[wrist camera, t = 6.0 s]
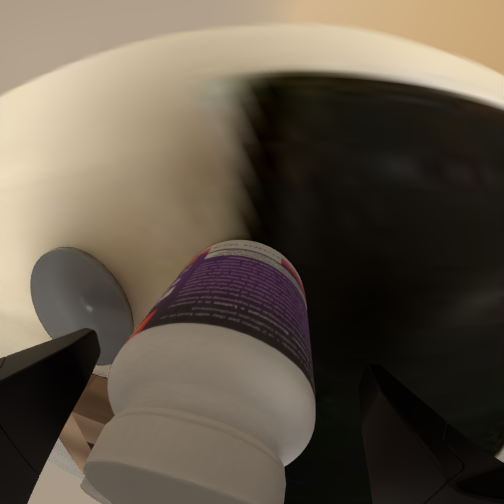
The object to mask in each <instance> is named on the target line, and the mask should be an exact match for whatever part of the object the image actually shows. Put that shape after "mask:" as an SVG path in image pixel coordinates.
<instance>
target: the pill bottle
mask: <svg viewBox="0 0 504 504" xmlns="http://www.w3.org/2000/svg"><path fill="white" fill-rule="evenodd" d="M107 389H108V397H109V401H110V405H111V408H112V410H113V413H114V415H115V416H114V417H113V418H112V419H111V421H109V422H108V423H107V424H106V425H105V426H104V428H103V430H102V431H101V433H100V435H99V437H98V439H97V441H96V443H95V445H94V447H93V449H92V450H91V452H90V454H89V456H88V458H87V459H86V461H85V463H84V473H85V476H86V478H87V480H88V481H89V482H90V484H91V485H92V486H93V487H94V488H95V489H96V490H97V491H98V492H99V493H100V494H101V495H102V496H104V497H105V498H106V499H108V500H109V501H110V502H112V503H113V504H284V495H285V487H286V481H285V476H284V475H285V470H284V466H286V465H288V464H289V463H290V462H292V461H293V460H294V459H295V458H297V457H298V456H299V455H300V454H301V452H302V451H303V450H304V449H305V447H306V446H307V444H308V442H309V441H310V439H311V436H312V433H313V430H314V425H315V386H314V376H313V364H312V355H311V345H310V334H309V326H308V315H307V305H306V297H305V292H304V288H303V285H302V281H301V279H300V277H299V275H298V273H297V271H296V270H295V268H294V267H293V265H292V264H291V263H290V262H289V261H288V260H287V259H286V258H285V257H284V256H283V255H282V254H280V253H279V252H278V251H276V250H275V249H273V248H271V247H269V246H266V245H264V244H261V243H258V242H254V241H248V240H230V241H224V242H221V243H217V244H215V245H212V246H210V247H208V248H207V249H205V250H203V251H202V252H201V253H199V254H198V255H197V256H196V257H195V258H194V259H193V260H192V261H191V262H190V263H189V264H188V265H187V266H186V267H185V269H184V270H183V271H182V272H181V273H180V275H179V276H178V277H177V279H176V280H175V281H174V282H173V284H172V285H171V286H170V287H169V289H168V290H167V291H166V292H165V293H164V295H163V296H162V297H161V299H160V300H159V301H158V302H157V304H156V305H155V306H154V307H153V309H152V310H151V311H150V312H149V314H148V315H147V316H146V318H145V319H144V320H143V321H142V323H141V324H140V325H139V327H138V328H137V329H136V330H135V332H134V333H133V334H132V335H131V337H130V338H129V339H128V340H127V342H126V343H125V344H124V346H123V347H122V348H121V350H120V351H119V353H118V355H117V356H116V358H115V359H114V361H113V363H112V366H111V368H110V371H109V375H108V384H107Z"/></svg>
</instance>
